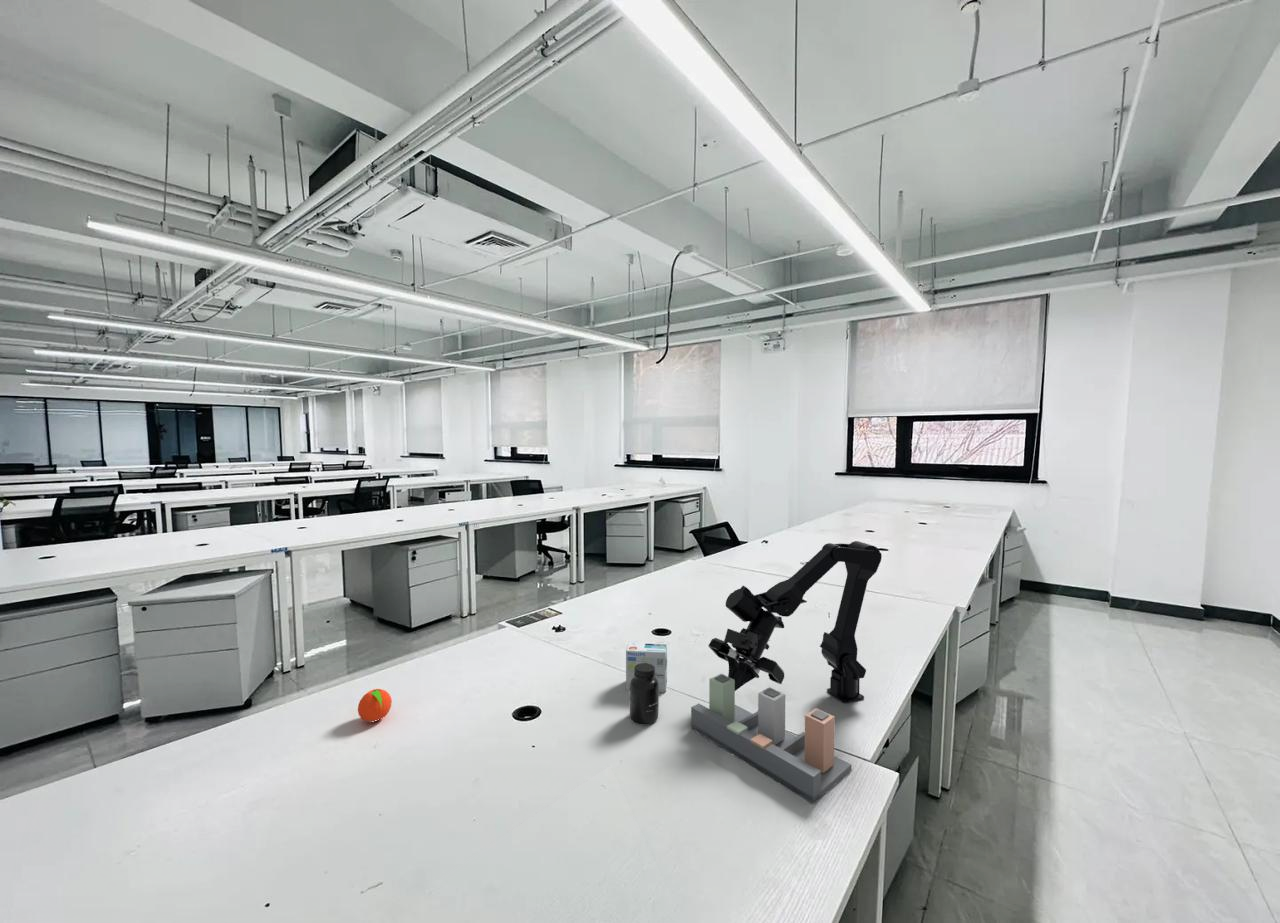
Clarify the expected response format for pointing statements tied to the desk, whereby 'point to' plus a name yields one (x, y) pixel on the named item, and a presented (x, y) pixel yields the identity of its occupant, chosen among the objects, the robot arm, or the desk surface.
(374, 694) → the clementine
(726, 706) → the pale green tall block
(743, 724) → the block sorting stand
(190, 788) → the desk surface
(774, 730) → the grey block
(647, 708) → the supplement bottle
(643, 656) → the light bulb box
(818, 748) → the peach tall block
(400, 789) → the desk surface
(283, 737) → the desk surface
